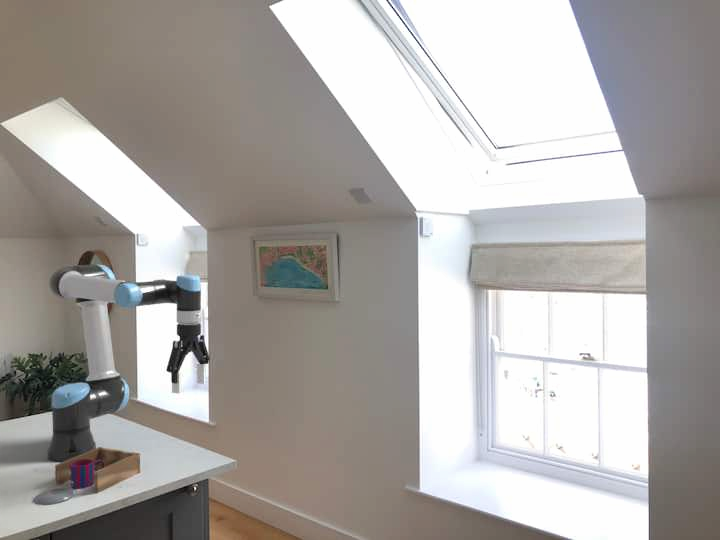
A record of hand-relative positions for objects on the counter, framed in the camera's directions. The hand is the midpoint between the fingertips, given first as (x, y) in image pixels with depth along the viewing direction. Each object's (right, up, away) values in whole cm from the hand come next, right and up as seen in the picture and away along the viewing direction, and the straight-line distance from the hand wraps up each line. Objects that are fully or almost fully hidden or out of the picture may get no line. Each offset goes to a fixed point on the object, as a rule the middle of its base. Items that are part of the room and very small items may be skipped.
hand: (189, 388), depth 208 cm
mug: (-27, -26, -15) cm, 40 cm away
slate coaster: (-32, -27, -25) cm, 48 cm away
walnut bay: (-25, -26, -11) cm, 38 cm away
